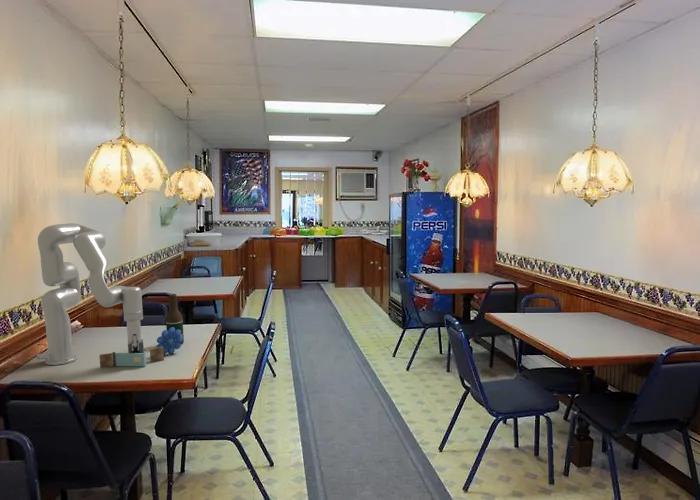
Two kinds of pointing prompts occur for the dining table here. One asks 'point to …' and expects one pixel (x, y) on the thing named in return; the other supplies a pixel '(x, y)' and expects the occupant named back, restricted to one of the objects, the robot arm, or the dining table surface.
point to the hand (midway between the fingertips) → (136, 357)
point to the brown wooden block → (110, 361)
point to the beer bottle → (174, 316)
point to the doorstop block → (137, 345)
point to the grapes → (170, 340)
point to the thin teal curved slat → (130, 359)
